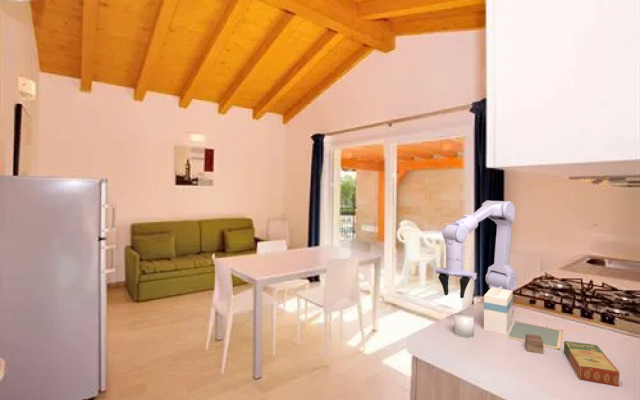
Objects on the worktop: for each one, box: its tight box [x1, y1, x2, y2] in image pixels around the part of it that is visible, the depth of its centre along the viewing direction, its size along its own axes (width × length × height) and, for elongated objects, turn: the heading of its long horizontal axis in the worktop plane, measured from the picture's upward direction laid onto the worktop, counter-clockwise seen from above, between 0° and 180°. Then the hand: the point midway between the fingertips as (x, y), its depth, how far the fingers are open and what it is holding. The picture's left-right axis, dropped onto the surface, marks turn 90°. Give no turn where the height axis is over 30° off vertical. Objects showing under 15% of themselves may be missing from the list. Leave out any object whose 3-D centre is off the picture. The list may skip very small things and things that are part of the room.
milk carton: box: [483, 286, 514, 335], centre depth 121 cm, size 12×7×13 cm, turn 143°
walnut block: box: [524, 334, 544, 355], centre depth 104 cm, size 4×4×4 cm
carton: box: [563, 340, 620, 387], centre depth 93 cm, size 8×16×4 cm, turn 157°
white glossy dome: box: [453, 312, 475, 339], centre depth 115 cm, size 6×6×6 cm
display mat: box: [507, 320, 563, 351], centre depth 114 cm, size 17×14×1 cm
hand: (454, 296), depth 122 cm, fingers open, 5 cm apart
